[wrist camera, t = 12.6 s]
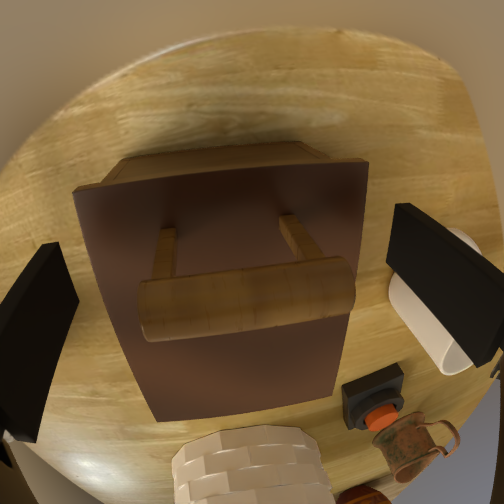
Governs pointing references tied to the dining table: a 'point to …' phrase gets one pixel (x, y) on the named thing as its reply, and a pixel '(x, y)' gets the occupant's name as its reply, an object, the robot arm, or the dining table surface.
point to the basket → (251, 468)
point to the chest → (213, 158)
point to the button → (381, 417)
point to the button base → (371, 395)
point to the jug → (362, 496)
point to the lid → (229, 279)
